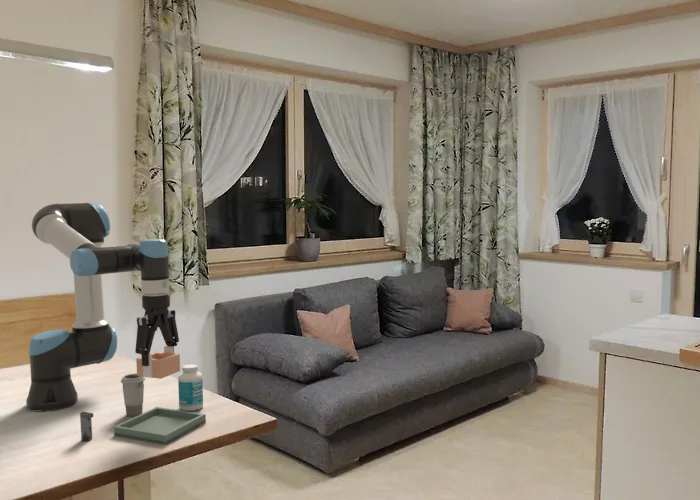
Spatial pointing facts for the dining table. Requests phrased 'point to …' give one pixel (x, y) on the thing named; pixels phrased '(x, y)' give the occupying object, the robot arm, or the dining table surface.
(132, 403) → the cup
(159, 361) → the pink open box
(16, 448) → the dining table surface
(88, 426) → the post
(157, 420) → the tray
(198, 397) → the pill bottle
